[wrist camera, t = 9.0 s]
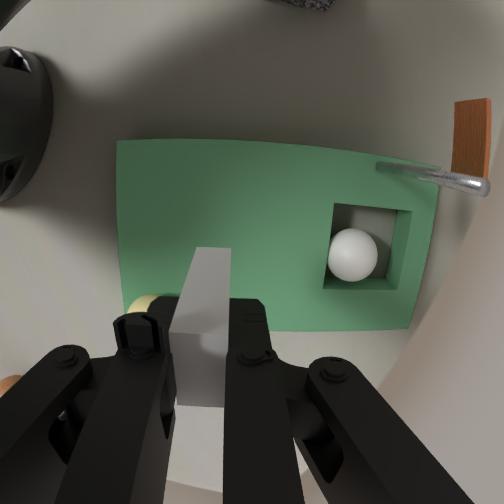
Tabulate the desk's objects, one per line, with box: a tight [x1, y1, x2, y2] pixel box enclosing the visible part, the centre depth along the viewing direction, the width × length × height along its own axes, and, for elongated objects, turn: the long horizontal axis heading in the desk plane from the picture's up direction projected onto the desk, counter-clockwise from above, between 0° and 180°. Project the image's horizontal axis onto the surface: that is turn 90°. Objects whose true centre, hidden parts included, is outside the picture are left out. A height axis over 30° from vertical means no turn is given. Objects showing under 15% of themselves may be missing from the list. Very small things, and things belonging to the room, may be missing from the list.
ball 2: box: [327, 228, 378, 282], centre depth 23 cm, size 4×4×4 cm
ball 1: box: [127, 294, 162, 314], centre depth 21 cm, size 4×4×4 cm
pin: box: [376, 98, 491, 197], centre depth 15 cm, size 1×4×11 cm, turn 177°
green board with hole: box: [116, 139, 441, 332], centre depth 23 cm, size 24×14×2 cm, turn 87°
